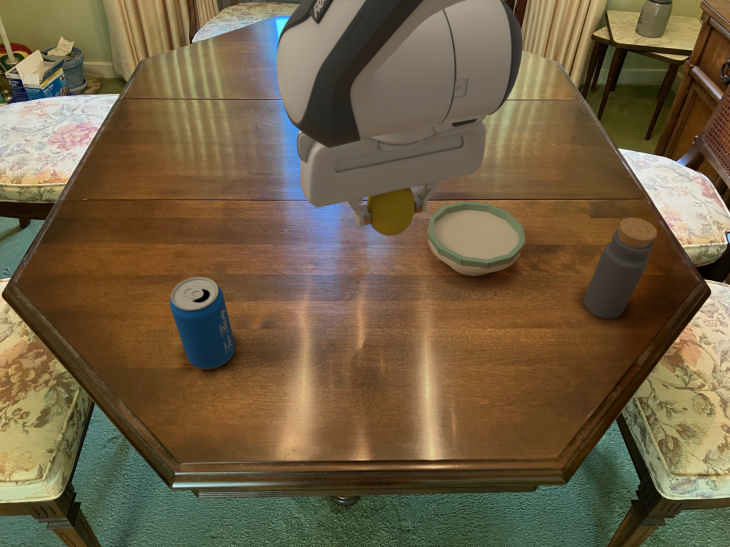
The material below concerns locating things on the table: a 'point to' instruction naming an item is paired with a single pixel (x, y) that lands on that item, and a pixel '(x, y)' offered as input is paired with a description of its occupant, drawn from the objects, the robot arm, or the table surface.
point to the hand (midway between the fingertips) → (390, 216)
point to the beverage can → (202, 322)
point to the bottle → (620, 268)
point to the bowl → (475, 237)
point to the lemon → (392, 211)
